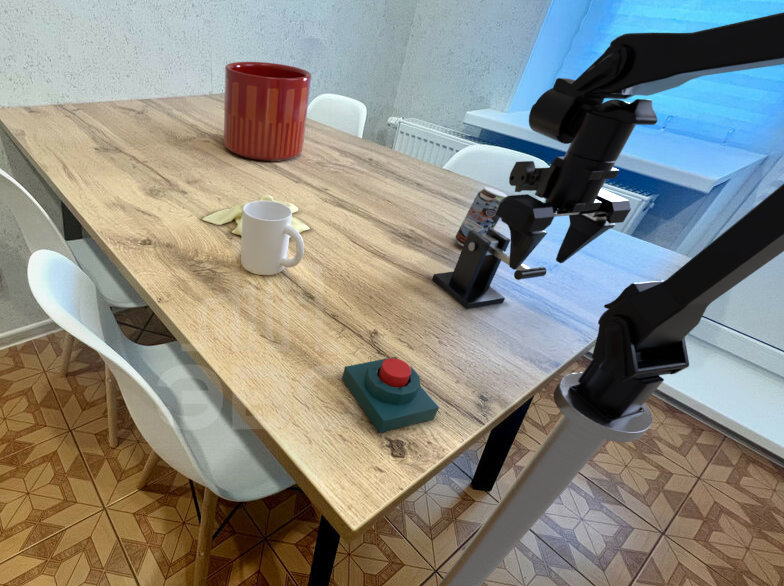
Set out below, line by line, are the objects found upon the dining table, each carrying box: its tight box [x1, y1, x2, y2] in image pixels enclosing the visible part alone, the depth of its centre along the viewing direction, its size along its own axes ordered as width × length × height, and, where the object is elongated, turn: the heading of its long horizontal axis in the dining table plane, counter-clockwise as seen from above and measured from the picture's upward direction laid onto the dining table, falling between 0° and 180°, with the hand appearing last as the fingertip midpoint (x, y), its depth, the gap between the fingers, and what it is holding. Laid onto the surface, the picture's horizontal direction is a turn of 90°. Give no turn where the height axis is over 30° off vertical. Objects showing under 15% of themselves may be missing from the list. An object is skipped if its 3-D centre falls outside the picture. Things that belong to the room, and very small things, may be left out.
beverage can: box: [455, 186, 509, 247], centre depth 94 cm, size 6×7×12 cm
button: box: [379, 357, 411, 388], centre depth 57 cm, size 4×4×2 cm
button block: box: [341, 356, 440, 434], centre depth 59 cm, size 10×8×4 cm
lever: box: [482, 235, 547, 281], centre depth 74 cm, size 12×5×2 cm, turn 20°
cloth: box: [201, 194, 311, 239], centre depth 96 cm, size 22×19×6 cm
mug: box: [240, 200, 305, 276], centre depth 80 cm, size 12×8×10 cm
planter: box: [223, 61, 312, 162], centre depth 129 cm, size 23×23×20 cm
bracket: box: [431, 228, 511, 310], centre depth 80 cm, size 10×8×11 cm
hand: (536, 265), depth 69 cm, fingers open, 9 cm apart
